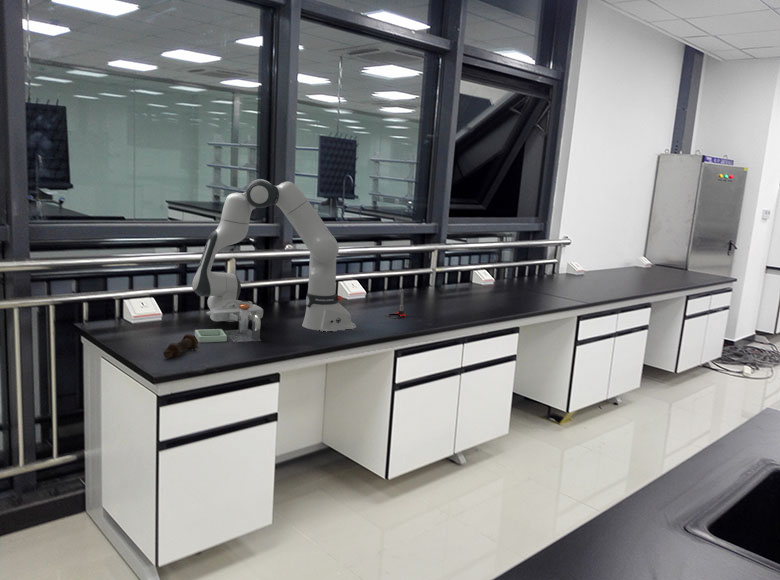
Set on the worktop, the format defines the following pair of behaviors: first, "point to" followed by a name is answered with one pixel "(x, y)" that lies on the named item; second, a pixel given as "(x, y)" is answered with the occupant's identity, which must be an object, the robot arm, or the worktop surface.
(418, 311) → the worktop surface
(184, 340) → the dark brown lumpy piece
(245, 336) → the base
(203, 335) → the tray
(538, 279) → the worktop surface
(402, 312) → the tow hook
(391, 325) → the worktop surface
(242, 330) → the lock pin
